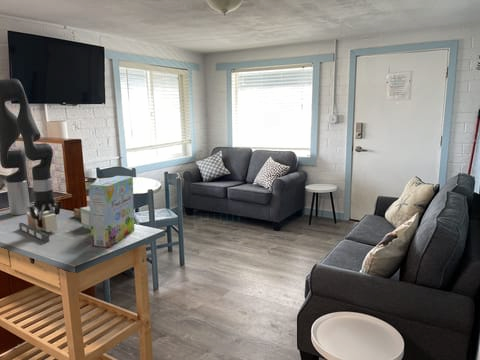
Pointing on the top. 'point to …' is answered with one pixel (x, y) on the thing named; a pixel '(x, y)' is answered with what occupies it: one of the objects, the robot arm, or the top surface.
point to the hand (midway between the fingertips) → (46, 225)
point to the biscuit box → (48, 222)
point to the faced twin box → (32, 221)
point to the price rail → (34, 232)
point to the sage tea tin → (86, 217)
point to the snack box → (111, 210)
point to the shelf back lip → (77, 213)
